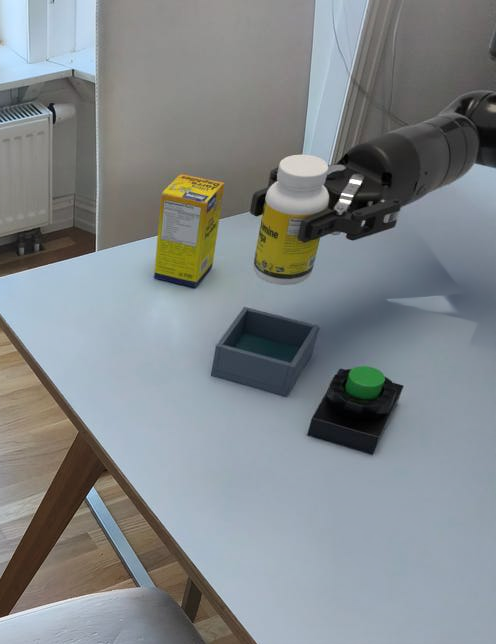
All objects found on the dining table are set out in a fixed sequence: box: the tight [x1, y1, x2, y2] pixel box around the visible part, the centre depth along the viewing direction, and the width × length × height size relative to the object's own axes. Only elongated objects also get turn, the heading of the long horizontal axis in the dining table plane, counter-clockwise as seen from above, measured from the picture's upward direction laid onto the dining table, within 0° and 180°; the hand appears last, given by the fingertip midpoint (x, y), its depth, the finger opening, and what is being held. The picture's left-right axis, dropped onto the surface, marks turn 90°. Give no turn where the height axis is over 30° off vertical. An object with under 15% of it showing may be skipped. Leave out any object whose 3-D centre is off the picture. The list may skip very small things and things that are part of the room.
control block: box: [306, 368, 404, 455], centre depth 93 cm, size 7×10×4 cm
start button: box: [345, 365, 386, 399], centre depth 91 cm, size 4×4×2 cm
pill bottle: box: [253, 154, 329, 286], centre depth 90 cm, size 6×6×11 cm
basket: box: [210, 306, 321, 397], centre depth 100 cm, size 9×9×4 cm
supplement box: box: [153, 173, 225, 288], centre depth 110 cm, size 6×6×11 cm
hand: (277, 218), depth 88 cm, fingers closed on pill bottle, 6 cm apart
